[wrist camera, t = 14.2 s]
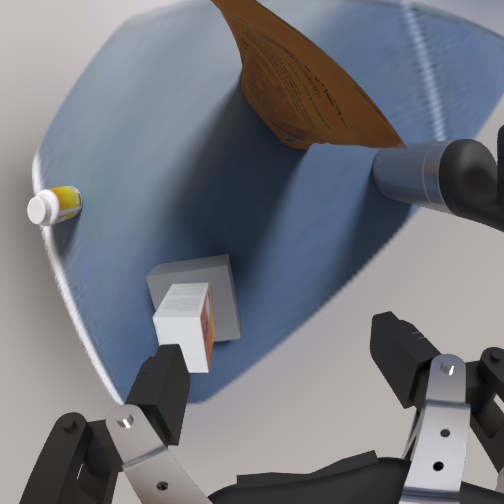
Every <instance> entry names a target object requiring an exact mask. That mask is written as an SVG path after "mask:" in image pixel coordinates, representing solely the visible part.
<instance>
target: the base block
mask: <svg viewBox="0 0 504 504" xmlns="http://www.w3.org/2000/svg"><path fill="white" fill-rule="evenodd" d="M146 279H147V283H148V287H149V290H150V294H151V297H152V301H153V304H154V308H155V311H157V309H158V307H159V306H160V304H161V302H162V301H163V299H164V297H165V296H166V294H167V292H168V291H169V289H170V287H171V286H172V284H187V283H209V284H210V293H211V302H212V312H213V320H214V326H215V335H214V342H217V341H226V340H235V339H241V320H240V314H239V309H238V303H237V298H236V292H235V287H234V281H233V275H232V269H231V264H230V258H229V254H224V255H217V256H210V257H203V258H196V259H190V260H183V261H176V262H169V263H162V264H156V265H155V267H154V268H153V269H152V270H151V271H150V272H149V274H148V275H147V276H146Z"/></svg>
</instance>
